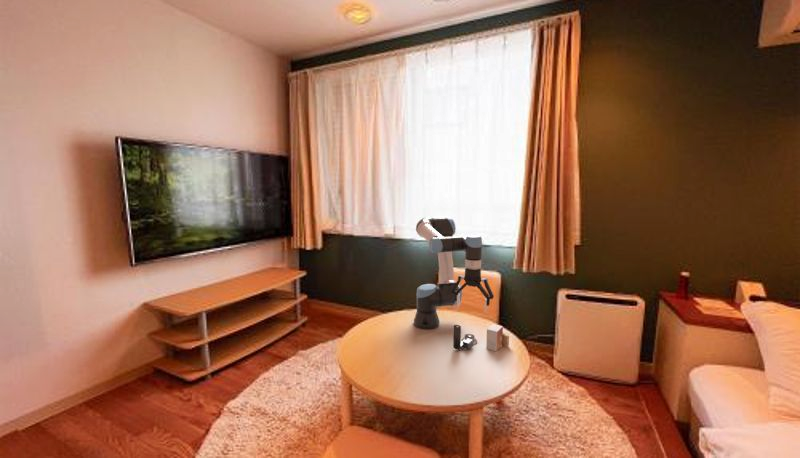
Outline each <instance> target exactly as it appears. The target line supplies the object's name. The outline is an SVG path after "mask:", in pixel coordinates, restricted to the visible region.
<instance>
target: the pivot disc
mask: <svg viewBox="0 0 800 458" xmlns="http://www.w3.org/2000/svg"><path fill="white" fill-rule="evenodd" d="M464 339H465V336H464V337H462V339H461V341H463V340H464ZM476 344H478V340H477V338H475V337H474V342H473V346H474V345H476Z"/></svg>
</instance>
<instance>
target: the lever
mask: <svg viewBox="0 0 800 458" xmlns="http://www.w3.org/2000/svg"><path fill="white" fill-rule="evenodd" d="M452 330H453V331H452V332H453V338H452V339H453V340H452V344H453V345H452V346H453V347H452V348H453V349H454V350H457V351H460V350H461V349H464V350H467V351H469V350H470V349H471V348H472V347H474V345H473V342H474V338H475V335H474V334H472V333H466V334H464V337H465V339H464V340H463V341H462V339H461V337H462V326H461V325H459V324H453V329H452Z"/></svg>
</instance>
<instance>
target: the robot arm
mask: <svg viewBox="0 0 800 458" xmlns="http://www.w3.org/2000/svg"><path fill="white" fill-rule="evenodd" d="M415 231H416V234H417V235H418V236H419V237H421V238H424V240H426V241H427V242H428V248H429V250H430V252H431V253H437V257H438V269H439V282H437V285H436V284H434V283H426V284H425V283H424V284H422V285H420V286H418V287H417V288H416V313H415V316H414V318H413V325H414V326H415V327H416V328H418V329H422V330H432V329H437V328H438V327H439V326H440V318H439V315H438V313H437V307H450V306H451V307H452V306H456V309H459V308H460V305H461V301H462V299H463V291H462V290H463V289H465V287H467V286H468V287H474V288H477V289H479V291H480V292H481V294H482V295H483V296H484V297H485V299H484V314H486V313H488V306H490V304H491V303H490V302H491V301H490V300H492V299H494V298H495V295H494V293H493V291H492V289H491V287H490V284H489V281H488V278H487V277H485V278H482V277H481V276H482V251H483V250H482V249H483V247H482V246H483V241H482V240H483V238H482V236H481V235H476V234H469V235H465V234H459V235H457V236H454V235H455V234H456V223H455V221H454V219H453V218H452V216H445V215H443V216H427V217H423V218H422V219H419V220H418V222H417V223H416V227H415ZM453 252H465V254H464V255H465V256H464V257H465V260H464V266H465V268H464V275H461V274H459V275H458V277H457V280H456V279H455V271H454V260H453ZM461 281H464V283H463V284H462V285H460V283H461ZM481 282H482V283H483V284H484V287H485V288H484V287H483V285H482V284H481Z"/></svg>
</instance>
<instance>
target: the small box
mask: <svg viewBox="0 0 800 458" xmlns="http://www.w3.org/2000/svg"><path fill="white" fill-rule="evenodd" d="M503 331H504V326H502V325H498V324H495V323H492V324H491V325H490V326H489V327H488V328H486V344H485V345H486V349H488V350H490V351H493V352H494V351H495V352H498V350H500V348H501V347H502V346H503V345H502V335H503V333H504V332H503Z"/></svg>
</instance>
